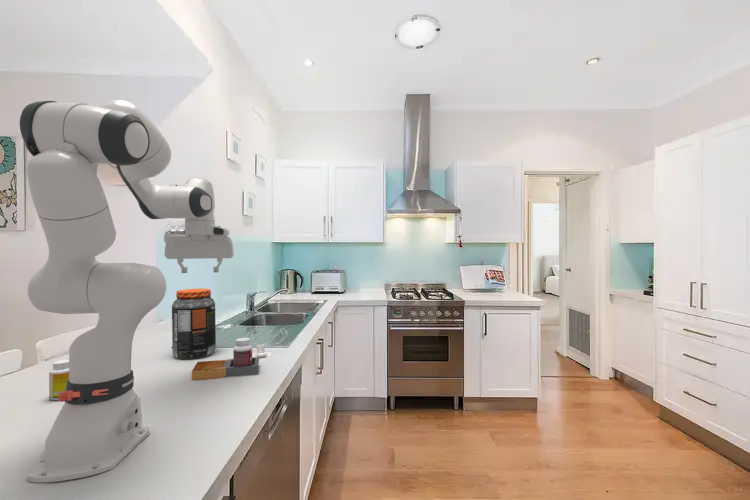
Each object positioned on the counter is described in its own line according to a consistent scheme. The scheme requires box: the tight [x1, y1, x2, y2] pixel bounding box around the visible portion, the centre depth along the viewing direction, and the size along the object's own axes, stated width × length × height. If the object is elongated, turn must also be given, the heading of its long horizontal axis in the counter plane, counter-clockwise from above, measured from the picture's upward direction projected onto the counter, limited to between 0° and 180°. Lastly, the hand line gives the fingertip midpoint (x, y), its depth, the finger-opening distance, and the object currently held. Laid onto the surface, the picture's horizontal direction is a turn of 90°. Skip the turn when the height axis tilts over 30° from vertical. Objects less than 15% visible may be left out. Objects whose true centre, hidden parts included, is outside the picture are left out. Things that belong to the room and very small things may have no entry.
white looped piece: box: [252, 344, 272, 358], centre depth 150 cm, size 9×8×4 cm
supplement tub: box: [171, 288, 217, 360], centre depth 150 cm, size 16×16×26 cm
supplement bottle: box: [48, 359, 69, 401], centre depth 107 cm, size 6×6×10 cm
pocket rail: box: [191, 356, 260, 381], centre depth 128 cm, size 10×20×3 cm, turn 106°
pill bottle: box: [232, 337, 253, 367], centre depth 130 cm, size 6×6×11 cm
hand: (200, 272), depth 122 cm, fingers open, 8 cm apart
